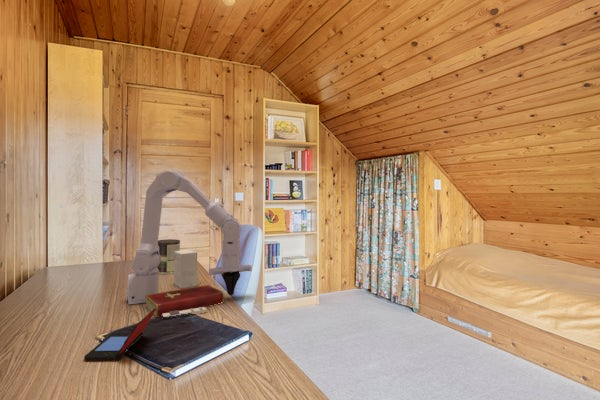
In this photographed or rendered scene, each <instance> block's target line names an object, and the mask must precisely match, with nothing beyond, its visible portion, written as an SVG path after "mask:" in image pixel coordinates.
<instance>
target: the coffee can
mask: <svg viewBox="0 0 600 400" xmlns="http://www.w3.org/2000/svg"><path fill="white" fill-rule="evenodd" d="M180 243H181V240H180V239H176V238H175V239H172V238H171V239H167V238H165V239H158V246H159V254H160V256H161V262H160V264H159V265H158V266H157V268H158V270H159V275H171V274H174V251H181V250H180V249H181V248H180V246H181V244H180Z"/></svg>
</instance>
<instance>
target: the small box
mask: <svg viewBox="0 0 600 400" xmlns="http://www.w3.org/2000/svg"><path fill="white" fill-rule="evenodd" d="M173 285H175V286H176V287H178V288H179V289H186V288H192V287H198V286H197V285H198V252H197V251H194V250H191V249H185V250H180V251H174V273H173Z"/></svg>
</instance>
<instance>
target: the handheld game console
mask: <svg viewBox="0 0 600 400" xmlns="http://www.w3.org/2000/svg"><path fill="white" fill-rule="evenodd" d="M155 311H156V308H155V309H153V310H152V311H150V312H149V313H148V314H147V315H145V316H144V318H142V319H141V320H140V321H139V322H138V323H136V325H134V327H133V328H132V329H131V331H130V332H114V333H111V334H109V336H107V337H106V338H105V339H103V340H102V341H101V342H99V344H97V345H96V346H95V347H93V348H92V349H91V350H90V351H89V352H87V353H86V354H85V355H84V358H83V360H84V361H85V362H119V361H121V359H123V357H124V356H125V355H126V354H125V351H126V349H127V348H128V347H129V346H130V345H131V344H132V343H134V342H135V341H136V340H137V339H138V338H139V337H140V336H141V335H142V334H143V335H144V331H145V329H146V327H147V325H148V324H149V323H150V321H151V320H152V318H153V316H154V313H155Z"/></svg>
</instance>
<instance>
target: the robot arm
mask: <svg viewBox="0 0 600 400" xmlns="http://www.w3.org/2000/svg"><path fill="white" fill-rule="evenodd" d="M175 191H179V192H182V193H187V194H188V195H189V196H190V197H192V199H194V200H195V202H196V203H198V204H199V205H200V206H201V207H202V208H203V209H204V210H205V211H204V212H205V213H204V214H205V216H207V218H209V219H210V220H211V221H212V222H213V224H215V226H217V227H218V228H221V229H220V231H221V232H222V235H223V236H222V237H223V238H222V257H221V259H222V260H221V262H222V263H221V265H222V266H217V267H212V268H208V275H209V276H216V275H221V277H222V279H223V281H224V284H225V287H226V291H227V295H229V296H233V295H234V293H235V288H236V285H237V283H238V281H239V279H240V278H241V273H243V272H252V271H253V268H252V267H253V266H252V265H251V264H240V252H241V251H240V250H241V249H240V248H241V243H240V242H241V240H240V230H241V224H240V222H239V220H238V219H237V218H234V217H235V216H234V215H233V214H230V213H229V211H227V210H226V209H225V208H224V207H225V206H224V205H223V204H222V203H219V202H214V201H212V200H210V198H209V197H208V196H207V195H206V194H205V193H204V192H203V191H202V190H201V189H200V188H199V187H198V186H197V185H196V184H195V183H194V182H193V181H192V180H191V179H189V178H188V177H187V176H185V175H184V174H183V173H182V172H180V171H176V170H172V169H165V170H163V171H161V172H159V173H157V174H156V176H155V179H154V180H153V181H152V182H151V184H150V185H149V186H148V187H147V189H146V192H145V201H144V211H143V217H142V218H143V219H142V227H141V238H140V244H139V246H138V247H137V249H136V252H135V256H134V258H133V259H132V260H131V261H132V262H131V268H132V270H133V272H134V273H131V274H130V273H129V274H128V275H127V286H126V287H127V288H126V289H127V291H126V299H127V303H128V305H136V304H145V303H146V297H145V295H150V294H156V293H159V280H160V279H159V275H160V274H159V270H158V268H157V266H158V265H159V264H160V262H161V256H160V254H159V246H158V240H159V235H160V233H159V232H160V226H161V215H162V209H163V208H162V207H163V200H164V199H163V198H164V197H166V196H167V195H169V194H170V193H172V192H175Z"/></svg>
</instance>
